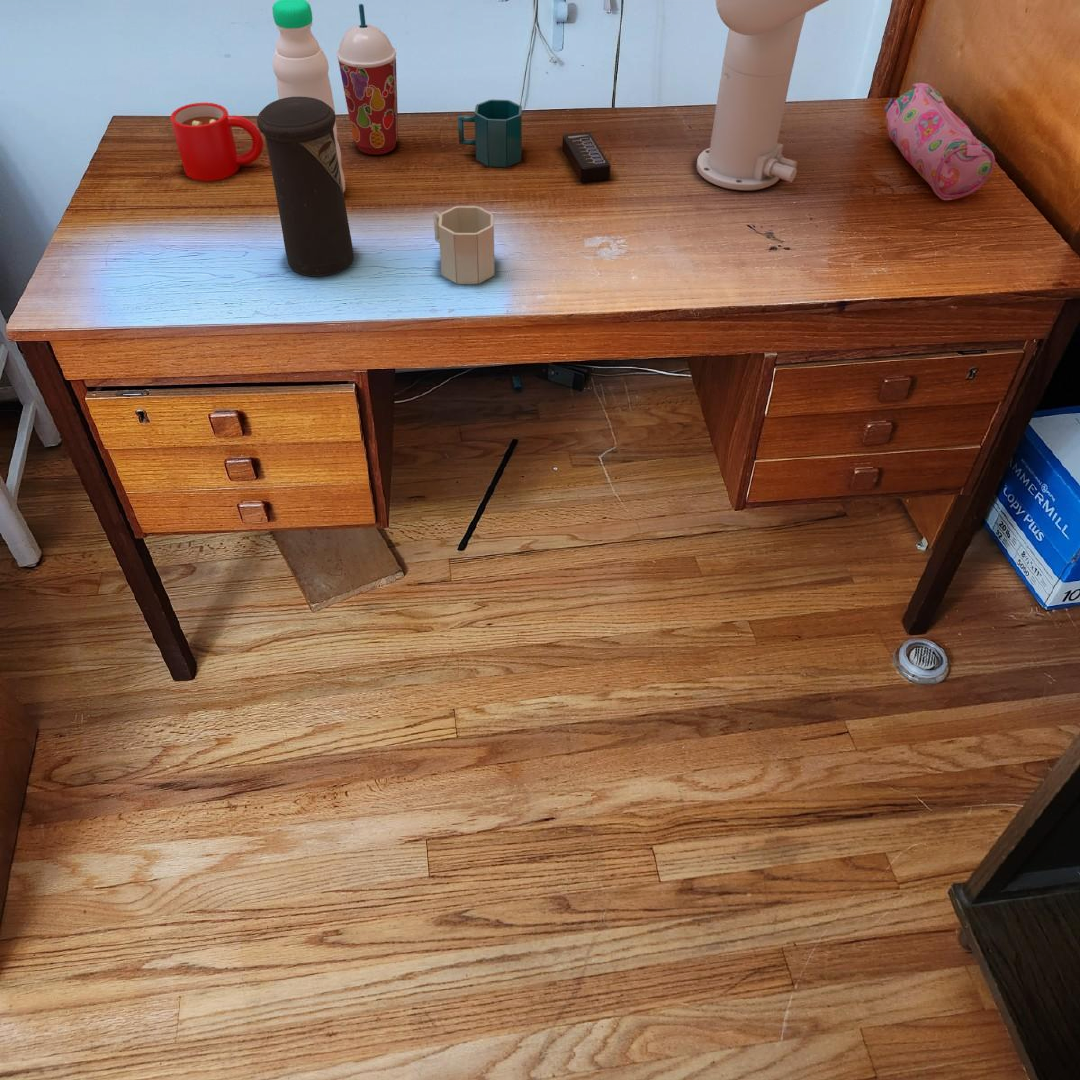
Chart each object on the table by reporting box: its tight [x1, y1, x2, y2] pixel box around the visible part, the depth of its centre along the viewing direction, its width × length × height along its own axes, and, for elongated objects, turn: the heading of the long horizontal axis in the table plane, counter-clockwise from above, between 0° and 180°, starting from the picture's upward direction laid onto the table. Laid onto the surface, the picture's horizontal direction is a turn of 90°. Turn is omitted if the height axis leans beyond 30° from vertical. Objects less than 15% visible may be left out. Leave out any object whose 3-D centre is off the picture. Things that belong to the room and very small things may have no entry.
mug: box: [170, 102, 264, 182], centre depth 138 cm, size 8×12×8 cm, turn 97°
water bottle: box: [272, 0, 346, 193], centre depth 127 cm, size 7×7×25 cm
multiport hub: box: [561, 131, 611, 184], centre depth 143 cm, size 4×11×2 cm, turn 14°
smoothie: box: [336, 3, 399, 156], centre depth 139 cm, size 8×8×20 cm
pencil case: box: [883, 82, 996, 201], centre depth 141 cm, size 21×9×9 cm, turn 5°
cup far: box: [457, 98, 523, 168], centre depth 142 cm, size 9×7×7 cm
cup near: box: [432, 205, 496, 285], centre depth 122 cm, size 9×7×7 cm
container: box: [256, 97, 355, 277], centre depth 118 cm, size 9×9×20 cm
